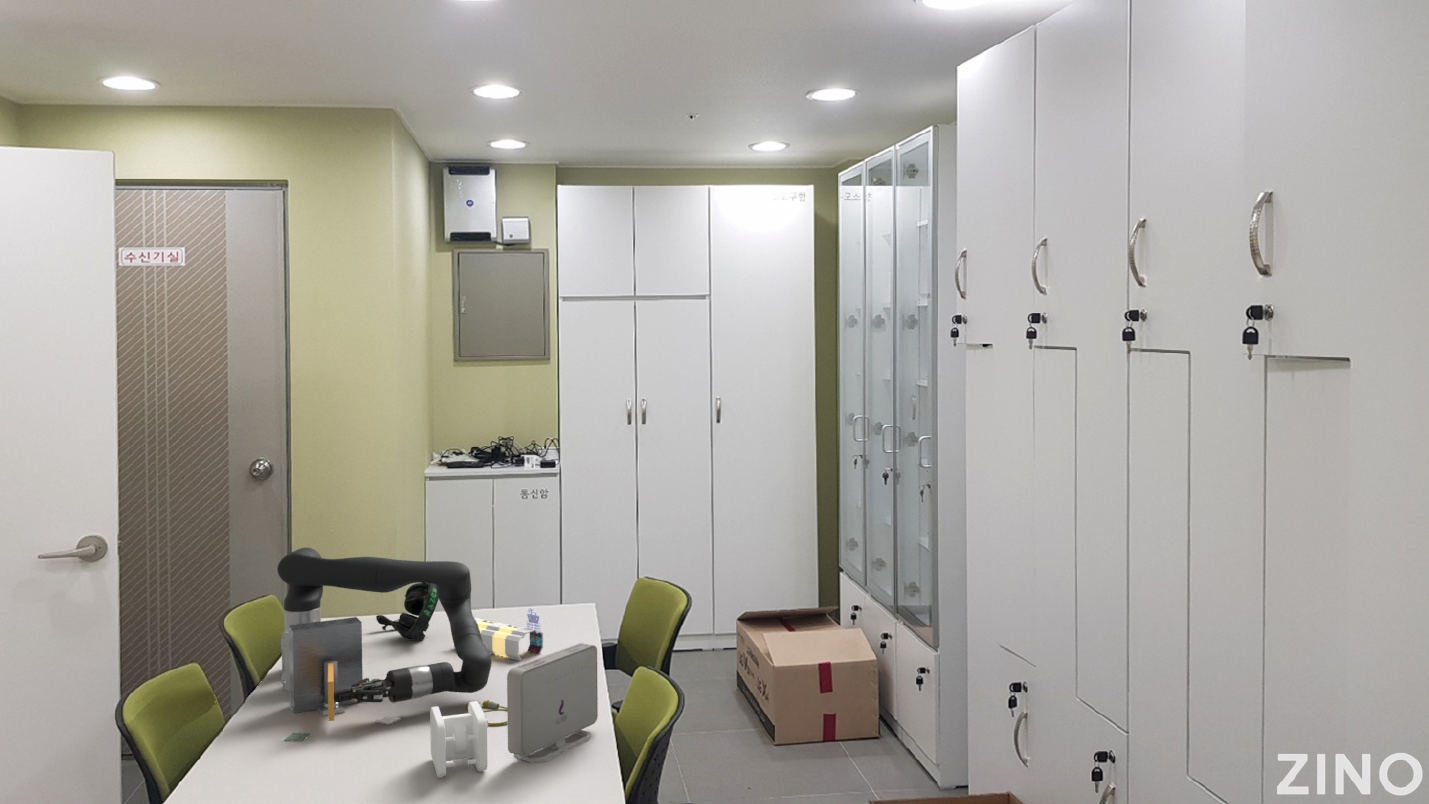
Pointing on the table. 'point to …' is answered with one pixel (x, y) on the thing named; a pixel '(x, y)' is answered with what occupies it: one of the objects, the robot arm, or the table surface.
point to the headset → (414, 612)
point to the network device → (552, 701)
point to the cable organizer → (458, 738)
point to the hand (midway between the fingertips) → (334, 697)
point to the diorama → (510, 637)
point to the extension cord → (493, 706)
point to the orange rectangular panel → (330, 685)
